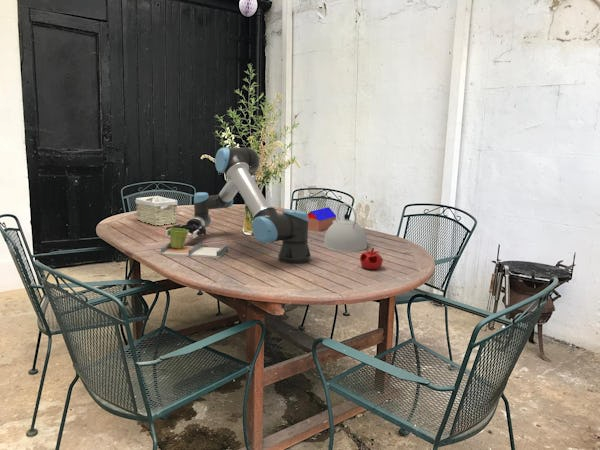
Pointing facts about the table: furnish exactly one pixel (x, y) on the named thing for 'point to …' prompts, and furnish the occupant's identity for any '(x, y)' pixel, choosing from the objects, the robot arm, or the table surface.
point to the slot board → (195, 251)
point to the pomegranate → (371, 260)
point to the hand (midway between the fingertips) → (180, 234)
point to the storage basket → (156, 210)
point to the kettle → (345, 234)
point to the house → (320, 219)
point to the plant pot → (177, 237)
